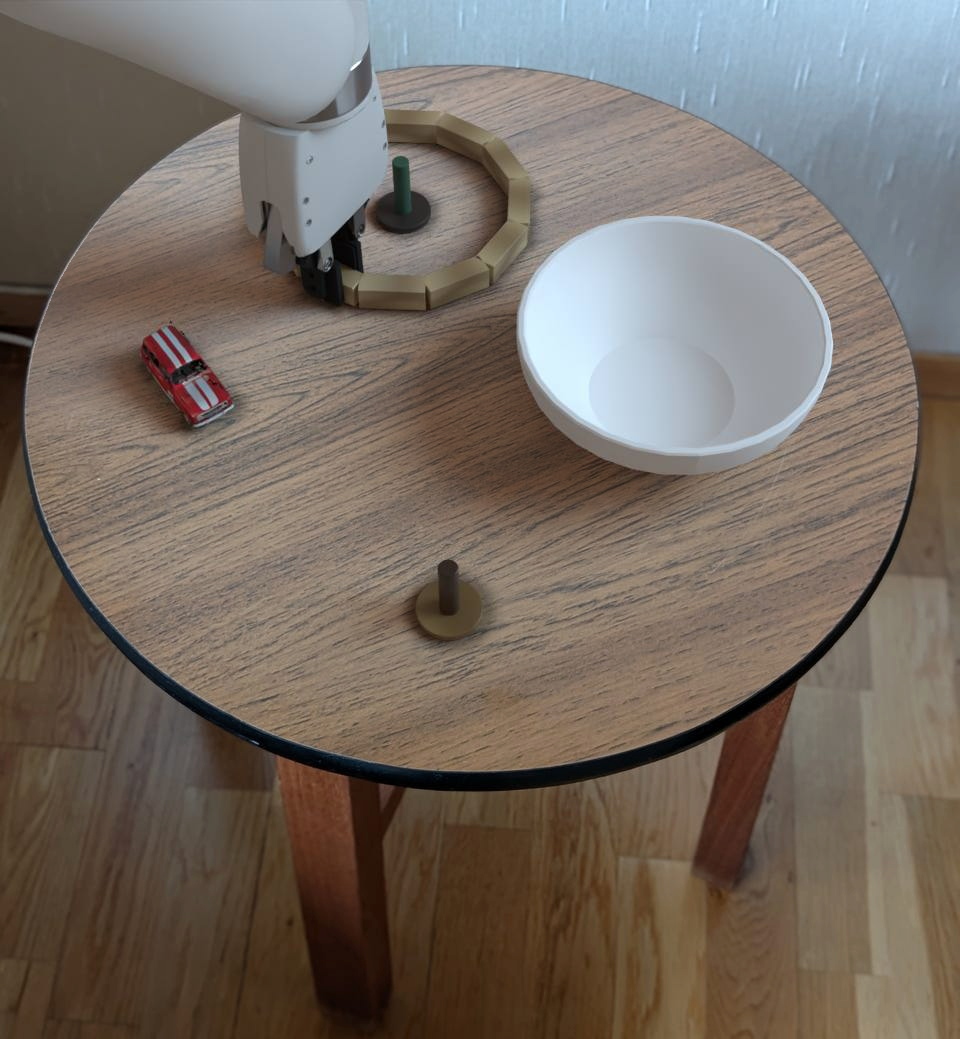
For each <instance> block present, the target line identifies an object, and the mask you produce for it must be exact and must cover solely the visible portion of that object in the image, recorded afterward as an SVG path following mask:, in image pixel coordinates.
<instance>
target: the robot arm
mask: <svg viewBox="0 0 960 1039" xmlns="http://www.w3.org/2000/svg"><path fill="white" fill-rule="evenodd" d="M0 14H3V15H5V16H7V17H9V18H11V19H14V20H16V21H19V22H20V23H23V24H25V25H27V26H30V27H33V28H35V29H38V30H41V31H43V32H45V33H48V34H52V35H54V36H57V37H60V38H63V39H66V40H69V41H72V42H75V43H77V44H82V45H84V46H86V47H87V46H88V47H89V48H93V49H96V50H98V51H100V52H101V51H102V52H104V53H107V54H110V55H113V56H116V57H118V58H121V59H123V60H125V61H128V62H130V63H133V64H136V65H138V66H141V67H142V68H145V69H148V70H150V71H152V72H155V73H157V74H159V75H161V76H164V77H166V78H169V79H171V80H173V81H175V82H177V83H180V84H182V85H185V86H187V87H189V88H191V89H193V90H196V91H198V92H201V93H203V94H204V95H206V96H210V97H211V98H214V99H216V100H219V101H221V102H223V103H226V104H228V105H230V106H232V107H235V108H237V109H239V110H240V115H239V123H238V124H239V125H238V166H239V167H238V168H239V179H240V190H241V200H242V206H243V213H244V219H245V224H246V227H247V230H248V233H249V234H250V235H252V236H254V237H256V238H257V239H260V237H261V236H263V234H265V242H264V250H263V251H264V252H263V258H262V260H263V261H262V268H263V270H266V271H268V272H269V273H272V274H273V275H276V276H277V277H283V276H285V275H287V274H289V273H290V272H292V271H294V269H295V267H296V266H298V265H300V272H301V276H300V280H301V279H302V280H301V284H302V289H303V290H304V291H305V292H306V293H307V294H308V295H309V296H310V297H312V298H313V299H316V300H318V301H324V302H326V303H328V304H330V305H331V306H333V307H336V308H340V307H341V306H342V305H343V304H344V303H345V302H344V293H343V281H342V272H341V264H343V265H345V266H348V267H350V268H352V269H354V270H356V271H358V272H361V273H363V274H365V272H364V271H365V270H364V261H363V249H362V241H360V240H359V239H360V238H362V236H363V235H364V234H365V231H366V228H367V227H366V226H367V225H366V224H367V223H366V222H367V221H366V208H367V207H368V206H367V205H368V203H369V202H370V200H371V197H372V195H374V193H375V192H376V191H377V190H378V189H379V188H380V186H381V185H382V184H383V182H384V180H385V179H386V177H387V174H388V169H389V144H388V143H389V142H388V141H387V130H386V122H385V115H384V109H385V108H384V102H383V99H382V94H381V89H380V85H379V82H378V78H377V74H376V72H375V69H374V65H373V63H372V58H371V57H372V55H371V41H370V40H371V39H370V29H369V28H370V26H369V13H368V0H0ZM265 232H266V233H265ZM340 263H341V264H340Z"/></svg>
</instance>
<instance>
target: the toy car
mask: <svg viewBox="0 0 960 1039" xmlns="http://www.w3.org/2000/svg"><path fill="white" fill-rule="evenodd" d="M168 324H169V325H166V326H164V327H162V328H158V329H157V330H156V331H154V332H153V333H151V334H149V335H147V336H145V337H144V338H143V340H142V343H141V347H140V349H139V357H140V358H141V359H142V361H143V362H144V365H145V367H146V370H147V371H148V373H149V375H151V376H152V377H153V378H154V380H156V382H157V383H158V385H159V386H160V388H161V390H163V392H164V393H165V395H166V396H167V397H168V399H169V400H170V401H171V402H172V403H173V404H174V406H175V407H176V409H177V410H178V411H179V412H182V415H183V416H182V417H183V418H184V421H186V422H187V424H186V426H189V428H188V429H193V428H194V429H197V428H198V427H202V426H204V425H208V424H209V423H211V422H212V421H215V420H216V419H218V418H220V417H221V416H223V415H225V414H227V412H228V411H231V410H232V409H233V408H234V407H235V404H234V403H233V401H234V398H233V397H231V395H230V393H229V391H228V390H227V388H225V386H224V385H223V383H222V381H221V380H220V379H219V377H218V376H217V375H216V373H215V372H214V371H213V369H212V368H213V366H211V365H214V363H211V365H208V364H207V363H206V361H205V360H204V358H203V357H202V356H201V355H200V353H199V352H197V349H195V347H194V346H193V345H192V344H191V343H192V342H191V340H190V339H188V337H189V336H185V333H184V331H182V330H179V328H178V326H174V325H171V324H173V321H172V320H170V321H169V323H168ZM204 371H205V372H204ZM205 376H206V377H208V379H206V378H205ZM225 403H226V404H225Z"/></svg>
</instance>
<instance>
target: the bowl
mask: <svg viewBox="0 0 960 1039" xmlns="http://www.w3.org/2000/svg"><path fill="white" fill-rule="evenodd" d="M832 333H833V332H832V326H831V321H830V318H829V315H828V312H827V310H826V308H825V306H824V304H823V301H822V299H821V296H820V295H819V293H818V292H817V290H816V289H815V288H814V286H813V285H812V284H811V282H810V281H809V279H808V277H807V276H806V275H805V274H804V273H803V272H802V271H800V269H799V268H798V267H797V266H796V265H794V263H792V261H790V260H789V259H788V258H787V257H786V256H785V255H783V254H782V253H780V251H779V252H778V251H777V250H775V249H774V248H773V247H771V246H770V245H769V244H767V243H766V242H764V241H762V240H760V239H758V238H756V237H754V236H752V235H751V234H747V233H746V232H744V231H741V230H739V229H737V228H733V227H731V226H727V225H724V224H720V223H717V222H714V221H711V220H706V219H700V218H693V217H687V216H682V215H646V216H645V215H644V216H639V217H631V218H629V217H628V218H623V219H619V220H616V221H612V222H608V223H605V224H601V225H598V226H595V227H593V228H591V229H588V230H586V231H584V232H582V233H580V234H578V235H576V236H574V237H571V238H570V239H569V240H567V241H566V242H565V243H563V244H562V245H560V246H559V247H557V248H556V249H555V250H553V251H552V252H550V254H549V255H548V256H547V257H546V258H545V259H544V260H542V262H541V263H540V264H539V265H538V266H537V267H536V269H535V270H534V271H533V273H532V274H531V276H530V278H529V279H528V282H527V283H526V285H525V287H524V289H523V290H522V293H521V297H520V301H519V304H518V308H517V311H516V350H517V354H518V359H519V362H520V367H521V371H522V374H523V377H524V379H525V382H526V384H527V387H528V388H529V390H530V393H531V394H532V396H533V399H534V401H535V402H536V404H537V406H538V408H539V409H540V410H541V412H542V413H543V414H544V415H545V416H546V417H547V419H548V420H549V421H550V422H551V423H552V425H553V426H554V427H555V428H556V429H557V430H559V431H560V432H561V433H562V434H564V435H565V436H566V437H567V438H569V440H571V441H572V442H573V443H575V445H577V446H579V447H581V448H582V449H584V450H586V451H588V452H590V453H592V454H593V455H595V456H597V457H599V458H601V459H602V460H605V461H608V462H611V463H613V464H616V465H620V466H622V467H625V468H628V469H630V470H636V471H640V472H646V473H652V474H658V475H669V476H672V475H673V476H697V475H703V474H710V473H717V472H723V471H727V470H729V469H732V468H735V467H739V466H741V465H745V464H748V463H750V462H752V461H754V460H756V459H758V458H760V457H762V456H763V455H765V454H767V453H769V452H771V451H772V450H774V449H775V448H776V447H778V446H779V445H780V444H781V443H782V442H783V441H784V440H786V438H788V437H789V436H790V435H791V434H793V433H794V431H795V430H796V429H797V428H798V427H799V426H800V425H801V424H802V423H803V421H804V420H805V418H806V417H807V416H808V414H809V413H810V412H811V410H812V409H813V407H814V406H815V404H816V403H817V402H818V399H819V397H820V395H821V393H822V391H823V389H824V386H825V384H826V381H827V378H828V376H829V373H830V370H831V367H832V360H833V350H834V340H833V334H832Z"/></svg>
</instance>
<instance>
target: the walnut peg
mask: <svg viewBox="0 0 960 1039" xmlns="http://www.w3.org/2000/svg"><path fill="white" fill-rule="evenodd" d="M459 570H460V568H459V564H458V562H456V561H455V560H453V559H449V558H447V559H443V560H442V561H440V562H439V563H438V564H437V579H436V580H435V581H434V580H433V581H432V582H430V583H429V584H427V585H426V586H425V587H424V588H422V590H421V591H420V593H419V594H418V596H417V598H416V602H415V616H416V620H417V623H418V625H419V626H420V628H421V629H422V630H423V631H424V632H425V633H426V634H427V635H429V636H431V637H433V638H435V639H438V640H442V641H456V640H461V639H463V638H466V637H467V636H469V635H471V634H472V633H473V632H475V630H476V629H477V628H478V627H479V625H480V623H481V621H482V618H483V615H484V614H483V613H484V604H483V600H482V599H483V598H482V597H481V595H480V593H479V591H478V590H477V589H476V588H475V587H474V586H473V585H472V584H470V583H469V582H467V581H465V580H463V579H460V572H459Z"/></svg>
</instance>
